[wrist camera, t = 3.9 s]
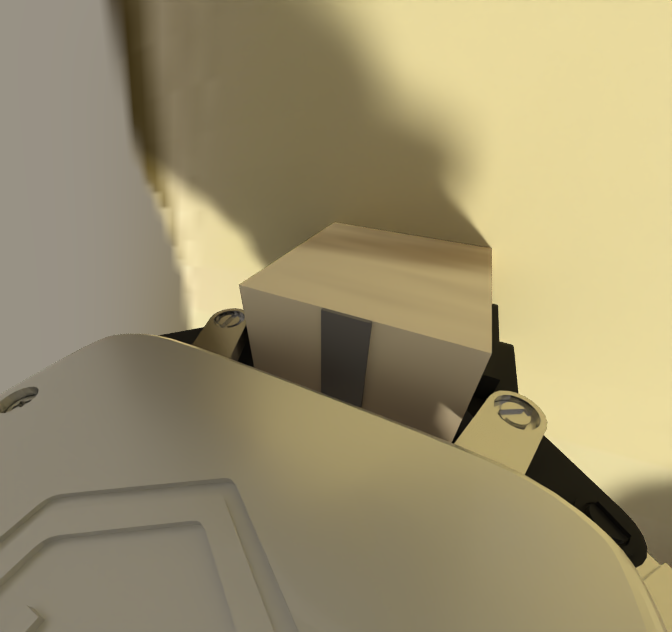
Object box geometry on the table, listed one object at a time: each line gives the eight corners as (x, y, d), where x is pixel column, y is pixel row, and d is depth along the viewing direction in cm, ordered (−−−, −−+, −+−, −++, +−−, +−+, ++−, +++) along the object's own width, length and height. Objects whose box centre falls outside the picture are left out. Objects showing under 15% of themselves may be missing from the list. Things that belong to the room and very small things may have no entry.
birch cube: (334, 221, 12) (236, 286, 7) (491, 248, 10) (491, 356, 5) (331, 335, 15) (263, 427, 11) (448, 370, 14) (426, 501, 9)
